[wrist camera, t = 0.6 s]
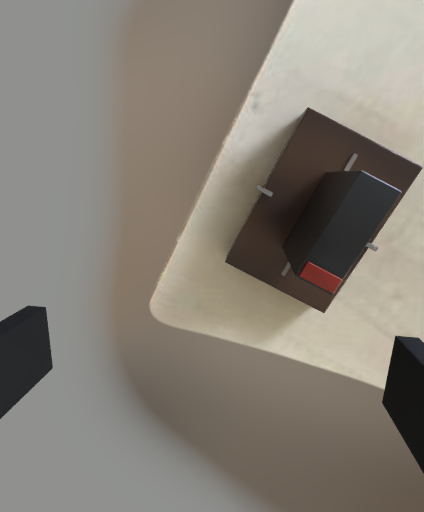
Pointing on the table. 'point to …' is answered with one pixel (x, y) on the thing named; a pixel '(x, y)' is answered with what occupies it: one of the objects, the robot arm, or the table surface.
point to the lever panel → (299, 194)
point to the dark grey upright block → (337, 226)
